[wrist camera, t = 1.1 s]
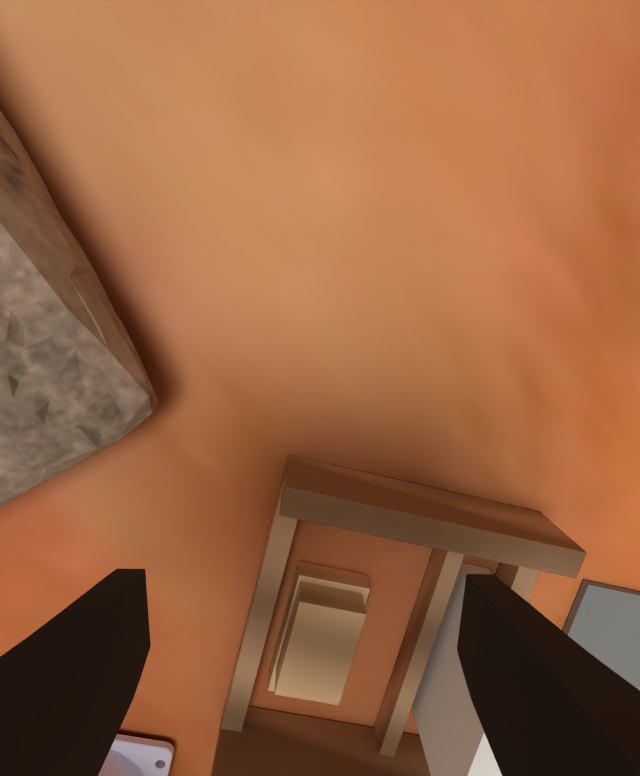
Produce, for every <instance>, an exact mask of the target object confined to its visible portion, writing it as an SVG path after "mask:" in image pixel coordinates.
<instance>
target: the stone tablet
mask: <svg viewBox="0 0 640 776" xmlns="http://www.w3.org/2000/svg"><path fill="white" fill-rule="evenodd" d="M158 402H159V401H158V399H157V397H156V394H155V392H154V390H153V387H152V385H151V383H150V380H149V378H148V376H147V373H146V371H145V369H144V366H143V364H142V362H141V359H140V357H139V355H138V353H137V351H136V349H135V346H134V344H133V342H132V340H131V338H130V336H129V334H128V332H127V330H126V329H125V327H124V325H123V323H122V322H121V320H120V319H119V317H118V316H117V314H116V312H115V310H114V308H113V306H112V304H111V302H110V300H109V298H108V296H107V294H106V292H105V290H104V288H103V286H102V284H101V282H100V280H99V278H98V276H97V274H96V273H95V271H94V269H93V267H92V265H91V264H90V262H89V260H88V258H87V257H86V255H85V253H84V251H83V249H82V248H81V246H80V245H79V243H78V242H77V240H76V239H75V237H74V235H73V234H72V232H71V231H70V229H69V228H68V226H67V225H66V223H65V222H64V220H63V219H62V217H61V216H60V214H59V212H58V210H57V208H56V206H55V204H54V202H53V200H52V198H51V196H50V194H49V192H48V190H47V188H46V186H45V184H44V182H43V180H42V178H41V176H40V174H39V172H38V171H37V169H36V167H35V165H34V164H33V162H32V160H31V159H30V157H29V155H28V153H27V152H26V150H25V148H24V147H23V145H22V143H21V141H20V140H19V138H18V136H17V134H16V133H15V131H14V130H13V128H12V127H11V125H10V124H9V122H8V121H7V120H6V118H5V117H4V115H3V114H2V113H1V111H0V507H2V506H4V505H5V504H7V503H8V502H10V501H12V500H13V499H15V498H17V497H18V496H20V495H22V494H23V493H25V492H26V491H28V490H30V489H31V488H33V487H35V486H36V485H38V484H40V483H41V482H43V481H45V480H47V479H49V478H51V477H53V476H55V475H57V474H59V473H61V472H63V471H64V470H66V469H68V468H70V467H72V466H74V465H76V464H78V463H80V462H81V461H83V460H85V459H87V458H88V457H90V456H92V455H94V454H95V453H97V452H99V451H101V450H102V449H104V448H106V447H107V446H109V445H111V444H113V443H114V442H116V441H118V440H120V439H121V438H122V437H123V436H125V435H126V434H127V433H128V432H130V431H131V430H132V429H133V428H135V427H136V426H137V425H138V424H140V423H141V422H142V421H143V420H145V419H146V418H147V417H149V416H150V415H151V414H152V413H153V411H154V409H155V408H156V406H157V404H158Z"/></svg>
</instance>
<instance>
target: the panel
mask: <svg viewBox="0 0 640 776" xmlns="http://www.w3.org/2000/svg"><path fill="white" fill-rule="evenodd" d="M466 574H492V573H491V571H490V570H489V568H484V567H479V566H474V565H470V564H465V563H461V566H460V569H459V572H458V575H457V578H456V581H455V584H454V586H453V589H452V592H451V595H450V598H449V601H448V604H447V606H446V609H445V612H444V615H443V618H442V621H441V624H440V627H439V629H438V632H437V635H436V638H435V641H434V644H433V647H432V650H431V652H430V655H429V658H428V661H427V664H426V667H425V670H424V673H423V675H422V678H421V681H420V684H419V687H418V690H417V693H416V696H415V698H414V701H413V704H412V710H413V713H414V717H415V721H416V724H417V728H418V731H419V735H420V739H421V742H422V746H423V749H424V753H425V757H426V760H427V764H428V767H429V771H430V775H431V776H502V774H501V772H500V769H499V767H498V765H497V762H496V760H495V757H494V755H493V752H492V750H491V748H490V745H489V743H488V740H487V738H486V735H485V733H484V730H483V728H482V725H481V723H480V721H479V718H478V716H477V713H476V711H475V708H474V706H473V703H472V700H471V697H470V694H469V691H468V687H467V684H466V681H465V677H464V674H463V670H462V667H461V663H460V659H459V656H458V652H457V643H458V636H459V628H460V620H461V612H462V604H463V597H464V589H465V581H466Z"/></svg>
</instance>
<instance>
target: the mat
mask: <svg viewBox="0 0 640 776" xmlns="http://www.w3.org/2000/svg"><path fill="white" fill-rule="evenodd" d="M563 632H564V633H565V634H567V635H568V636H569V637H570V638H572V639H573V640H574V641H575V642H577V643H578V644H579V645H580V646H582V647H583V648H584V649H585V650H587V651H588V652H589V653H591V654H592V655H593V656H594V657H596V658H597V659H598V660H600V661H601V662H602V663H603V664H605V665H606V666H607V667H609V668H610V669H611V670H613V671H614V672H616V673H617V674H618V675H620V676H621V677H622V678H624V679H625V680H626V681H628V682H629V683H630V684H632V685H633V686H634V687H636V688H637V689H638V690H640V592H639V591H634V590H630V589H625V588H620V587H616V586H611V585H606V584H601V583H597V582H592V581H587V580H583V582H582V584H581V587H580V589H579V592H578V594H577V596H576V599H575V601H574V604H573V606H572V609H571V611H570V614H569V616H568V618H567V621H566V623H565V626H564V628H563Z"/></svg>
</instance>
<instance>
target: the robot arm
mask: <svg viewBox="0 0 640 776" xmlns="http://www.w3.org/2000/svg"><path fill="white" fill-rule="evenodd" d="M149 649H150V634H149V620H148V605H147V591H146V577H145V569H116V570H115V571H113V572H112V573H111V574H109V575H108V576H107V577H105V578H104V579H103V580H101V581H100V582H99V583H97V584H96V585H95V586H94V587H92V588H91V589H90V590H88V591H87V592H86V593H85V594H83V595H82V596H81V597H80V598H78V599H77V600H76V601H74V602H73V603H72V604H71V605H69V606H68V607H67V608H65V609H64V610H63V611H62V612H60V613H59V614H58V615H56V616H55V617H54V618H52V619H51V620H50V621H48V622H47V623H46V624H45V625H43V626H42V627H41V628H39V629H38V630H37V631H35V632H34V633H33V634H31V635H30V636H29V637H27V638H26V639H25V640H23V641H22V642H20V643H19V644H18V645H16V646H15V647H13V648H12V649H11V650H9V651H8V652H6V653H5V654H4V655H2V656H1V657H0V776H168V774H169V770H170V765H171V761H172V757H173V753H174V747H173V746H172V744H170V743H169V742H165V741H159V740H153V739H146V738H140V737H134V736H128V735H121V734H117V733H118V731H119V729H120V727H121V724H122V722H123V720H124V718H125V715H126V713H127V711H128V709H129V706H130V704H131V702H132V700H133V697H134V694H135V692H136V689H137V686H138V683H139V680H140V677H141V674H142V671H143V668H144V665H145V662H146V659H147V655H148V652H149ZM457 652H458V656H459V659H460V663H461V667H462V670H463V674H464V677H465V681H466V684H467V687H468V691H469V694H470V697H471V700H472V703H473V706H474V708H475V711H476V713H477V716H478V718H479V721H480V723H481V725H482V728H483V730H484V733H485V735H486V738H487V740H488V743H489V745H490V748H491V750H492V752H493V755H494V757H495V760H496V762H497V765H498V767H499V769H500V772H501V774H502V776H640V690H638V689H637V688H636V687H634V686H633V685H632V684H630V683H629V682H628V681H626V680H625V679H624V678H622V677H621V676H620V675H618V674H617V673H616V672H614V671H613V670H611V669H610V668H609V667H607V666H606V665H605V664H603V663H602V662H601V661H600V660H598V659H597V658H596V657H594V656H593V655H592V654H591V653H589V652H588V651H587V650H585V649H584V648H583V647H582V646H580V645H579V644H578V643H577V642H575V641H574V640H573V639H572V638H570V637H569V636H568V635H567V634H565V633H564V632H563V631H562V630H560V629H559V628H558V627H557V626H556V625H554V624H553V623H552V622H551V621H549V620H548V619H547V618H546V617H545V616H543V615H542V614H541V613H540V612H539V611H537V610H536V609H535V608H534V607H533V606H531V605H530V604H529V603H528V602H527V601H526V600H524V599H523V598H522V597H521V596H520V595H518V594H517V593H516V592H515V591H514V590H512V589H511V588H510V587H509V586H507V585H506V584H505V583H504V582H503V581H501V580H500V579H499V578H497V577H496V576H495V575H493V574H466V581H465V589H464V597H463V604H462V612H461V620H460V628H459V636H458V643H457Z"/></svg>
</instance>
